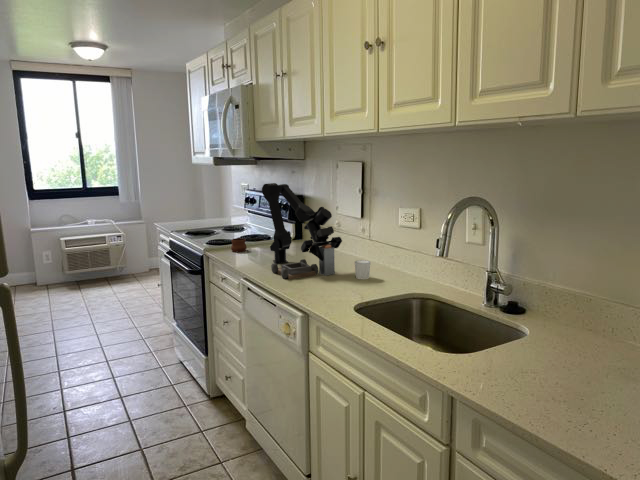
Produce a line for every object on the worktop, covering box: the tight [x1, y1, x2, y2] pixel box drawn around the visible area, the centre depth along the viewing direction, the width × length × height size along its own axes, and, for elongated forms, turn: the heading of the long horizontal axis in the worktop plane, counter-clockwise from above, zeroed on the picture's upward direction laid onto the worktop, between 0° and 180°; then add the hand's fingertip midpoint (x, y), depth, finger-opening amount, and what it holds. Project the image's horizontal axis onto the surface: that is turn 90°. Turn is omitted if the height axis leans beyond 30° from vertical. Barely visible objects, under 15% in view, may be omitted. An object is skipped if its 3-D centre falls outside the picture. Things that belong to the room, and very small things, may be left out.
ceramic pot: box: [230, 237, 247, 253], centre depth 261 cm, size 18×18×7 cm
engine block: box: [318, 244, 336, 276], centre depth 207 cm, size 5×5×13 cm
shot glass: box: [354, 259, 371, 280], centre depth 201 cm, size 7×7×7 cm
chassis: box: [270, 258, 319, 280], centre depth 210 cm, size 16×16×4 cm
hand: (328, 259), depth 206 cm, fingers closed on engine block, 5 cm apart
